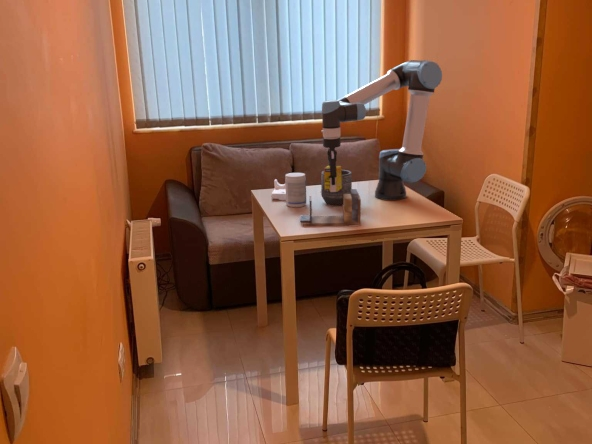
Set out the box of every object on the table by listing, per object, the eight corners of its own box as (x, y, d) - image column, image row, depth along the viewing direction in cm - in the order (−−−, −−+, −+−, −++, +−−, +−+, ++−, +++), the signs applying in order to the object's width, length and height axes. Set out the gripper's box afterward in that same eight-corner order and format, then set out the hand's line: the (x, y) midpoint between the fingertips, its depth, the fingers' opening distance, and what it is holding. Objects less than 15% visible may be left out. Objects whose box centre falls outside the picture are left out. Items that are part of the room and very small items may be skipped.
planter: (323, 199, 287) (323, 168, 283) (353, 200, 284) (353, 169, 280) (319, 206, 274) (318, 175, 269) (349, 207, 271) (349, 176, 266)
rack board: (358, 217, 255) (358, 188, 251) (360, 225, 245) (360, 194, 241) (302, 218, 256) (302, 189, 252) (302, 226, 245) (301, 195, 241)
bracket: (275, 194, 299) (275, 179, 297) (289, 194, 299) (289, 179, 296) (271, 200, 287) (271, 185, 285) (286, 200, 286) (285, 185, 284)
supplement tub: (310, 205, 276) (309, 174, 272) (293, 209, 271) (292, 177, 267) (298, 201, 284) (298, 171, 279) (282, 204, 279) (281, 174, 274)
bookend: (311, 216, 254) (311, 195, 251) (311, 221, 246) (311, 200, 243) (300, 216, 254) (300, 196, 251) (300, 221, 246) (299, 201, 244)
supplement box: (324, 192, 257) (323, 168, 254) (329, 189, 263) (328, 165, 259) (337, 193, 255) (337, 168, 252) (341, 189, 260) (341, 165, 257)
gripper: (322, 134, 261) (323, 184, 268) (323, 142, 242) (325, 195, 249) (339, 133, 261) (340, 183, 268) (341, 141, 242) (343, 195, 249)
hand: (332, 189), depth 259 cm, fingers closed on supplement box, 7 cm apart
